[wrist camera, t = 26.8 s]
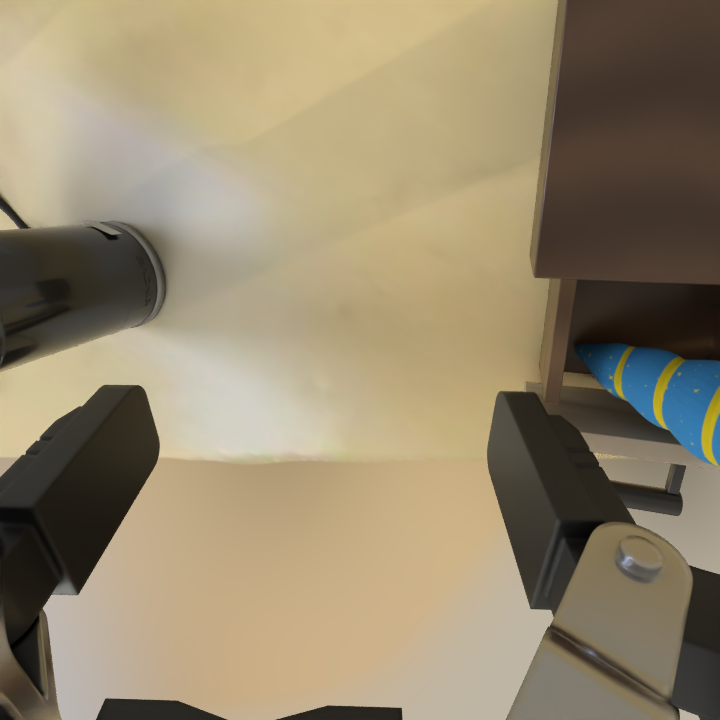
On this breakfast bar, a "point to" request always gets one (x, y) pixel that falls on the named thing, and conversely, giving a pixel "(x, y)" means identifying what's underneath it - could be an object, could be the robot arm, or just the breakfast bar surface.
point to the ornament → (663, 391)
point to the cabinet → (631, 144)
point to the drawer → (634, 328)
